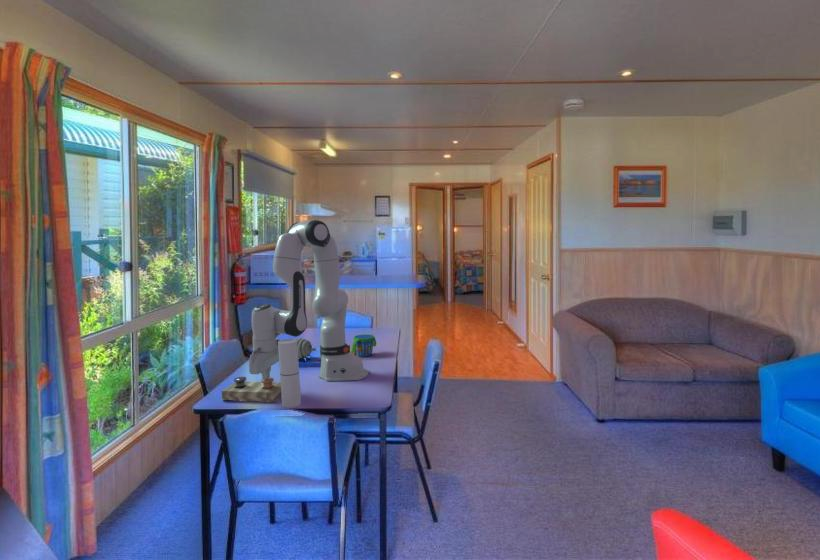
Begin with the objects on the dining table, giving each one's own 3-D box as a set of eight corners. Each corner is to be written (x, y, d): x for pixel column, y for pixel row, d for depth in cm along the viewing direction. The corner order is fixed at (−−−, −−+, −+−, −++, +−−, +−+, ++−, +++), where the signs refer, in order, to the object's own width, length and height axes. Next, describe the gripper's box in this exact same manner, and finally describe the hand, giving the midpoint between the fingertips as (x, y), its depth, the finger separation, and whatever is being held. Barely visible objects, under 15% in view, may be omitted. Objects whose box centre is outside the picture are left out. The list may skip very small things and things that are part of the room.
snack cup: (369, 350, 273) (369, 332, 272) (382, 354, 265) (382, 335, 264) (346, 357, 262) (345, 337, 261) (359, 360, 254) (358, 340, 253)
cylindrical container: (283, 408, 193) (279, 344, 189) (280, 402, 199) (276, 340, 196) (302, 405, 195) (298, 341, 192) (298, 399, 202) (295, 338, 199)
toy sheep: (291, 356, 267) (290, 335, 266) (321, 357, 263) (319, 336, 261) (281, 362, 257) (280, 340, 256) (312, 363, 253) (310, 341, 251)
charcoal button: (249, 386, 210) (248, 376, 210) (243, 390, 206) (242, 380, 205) (238, 386, 211) (237, 376, 211) (232, 390, 206) (231, 380, 206)
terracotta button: (276, 387, 208) (275, 377, 207) (270, 391, 203) (270, 381, 203) (265, 387, 209) (264, 377, 208) (259, 391, 204) (259, 381, 204)
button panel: (286, 392, 211) (285, 382, 211) (273, 402, 200) (272, 392, 199) (237, 390, 215) (237, 381, 215) (222, 400, 204) (221, 391, 203)
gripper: (259, 352, 193) (261, 387, 195) (282, 339, 213) (284, 371, 215) (243, 351, 194) (246, 386, 196) (268, 338, 214) (270, 370, 216)
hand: (266, 378), depth 206 cm, fingers closed
